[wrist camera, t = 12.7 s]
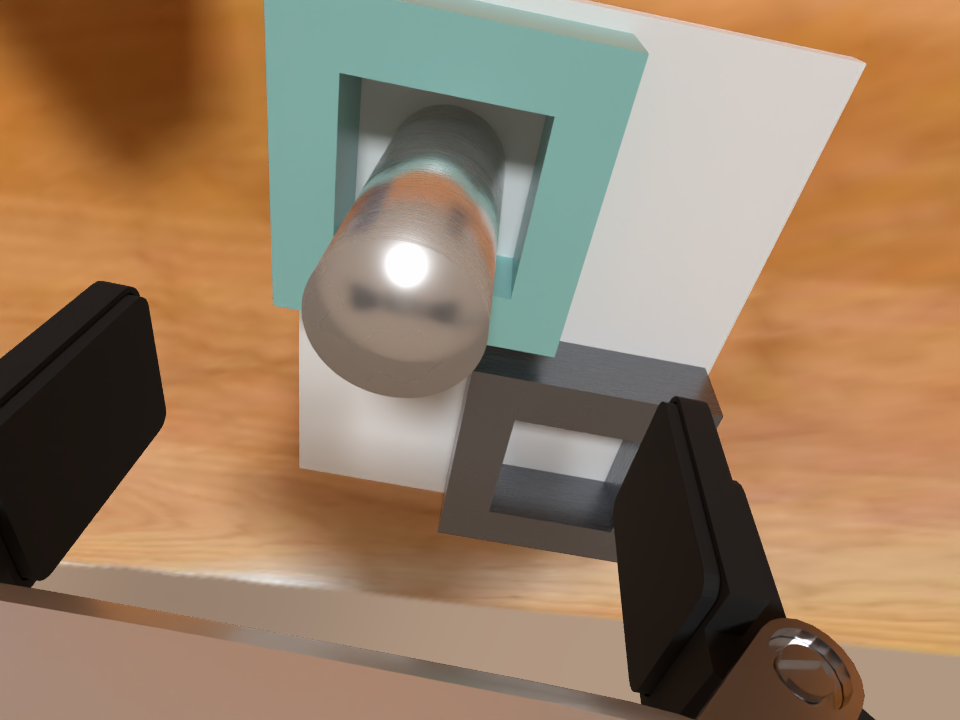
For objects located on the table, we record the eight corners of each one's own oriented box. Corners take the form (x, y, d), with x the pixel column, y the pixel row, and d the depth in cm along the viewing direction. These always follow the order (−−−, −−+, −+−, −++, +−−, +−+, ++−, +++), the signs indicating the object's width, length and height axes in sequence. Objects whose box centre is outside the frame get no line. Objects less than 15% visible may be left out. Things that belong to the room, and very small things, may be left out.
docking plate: (852, 56, 19) (866, 63, 19) (629, 509, 32) (631, 525, 32) (309, -60, 18) (299, -58, 18) (305, 453, 32) (299, 468, 31)
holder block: (705, 368, 25) (723, 416, 23) (631, 515, 31) (639, 566, 29) (478, 325, 25) (472, 370, 23) (445, 482, 31) (437, 532, 28)
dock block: (634, 33, 18) (649, 53, 16) (552, 312, 24) (554, 357, 22) (299, -38, 18) (263, -28, 16) (299, 265, 24) (273, 305, 22)
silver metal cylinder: (516, 117, 20) (505, 261, 12) (493, 230, 23) (471, 411, 14) (394, 93, 20) (301, 222, 12) (384, 208, 22) (301, 380, 14)
